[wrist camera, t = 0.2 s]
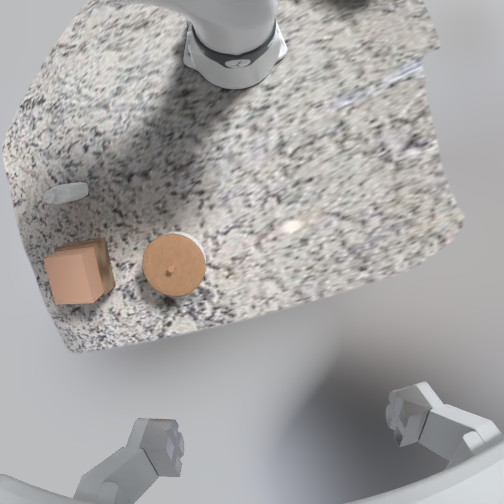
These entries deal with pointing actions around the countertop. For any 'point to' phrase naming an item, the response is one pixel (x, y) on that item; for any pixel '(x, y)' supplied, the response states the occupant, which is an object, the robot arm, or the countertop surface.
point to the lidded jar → (174, 263)
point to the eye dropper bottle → (66, 193)
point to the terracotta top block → (74, 276)
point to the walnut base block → (101, 258)
